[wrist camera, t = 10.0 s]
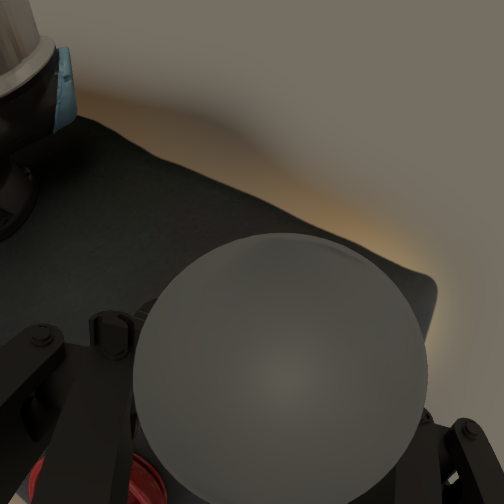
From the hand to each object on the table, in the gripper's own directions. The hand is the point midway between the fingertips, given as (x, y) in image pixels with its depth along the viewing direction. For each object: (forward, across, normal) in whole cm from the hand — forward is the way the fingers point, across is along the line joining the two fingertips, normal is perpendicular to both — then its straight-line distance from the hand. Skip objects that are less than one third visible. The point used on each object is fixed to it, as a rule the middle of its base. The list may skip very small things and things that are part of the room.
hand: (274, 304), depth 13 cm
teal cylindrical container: (+1, 0, -6) cm, 6 cm away
